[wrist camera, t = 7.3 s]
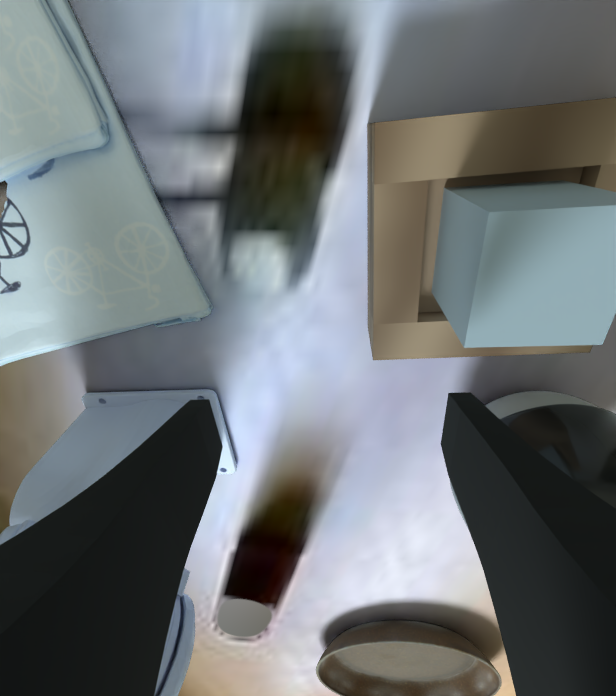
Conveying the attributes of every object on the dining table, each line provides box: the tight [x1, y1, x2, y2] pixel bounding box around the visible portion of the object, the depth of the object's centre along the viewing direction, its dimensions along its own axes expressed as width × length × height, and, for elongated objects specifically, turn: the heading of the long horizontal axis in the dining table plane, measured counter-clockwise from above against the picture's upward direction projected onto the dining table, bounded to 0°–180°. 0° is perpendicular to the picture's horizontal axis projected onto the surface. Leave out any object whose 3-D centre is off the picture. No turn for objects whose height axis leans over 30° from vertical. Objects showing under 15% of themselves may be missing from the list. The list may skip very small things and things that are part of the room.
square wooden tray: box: [367, 97, 616, 360], centre depth 16 cm, size 10×10×4 cm
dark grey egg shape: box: [450, 391, 616, 532], centre depth 17 cm, size 10×10×15 cm
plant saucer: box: [316, 620, 501, 696], centre depth 42 cm, size 21×21×3 cm
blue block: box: [432, 180, 616, 348], centre depth 13 cm, size 4×4×5 cm
